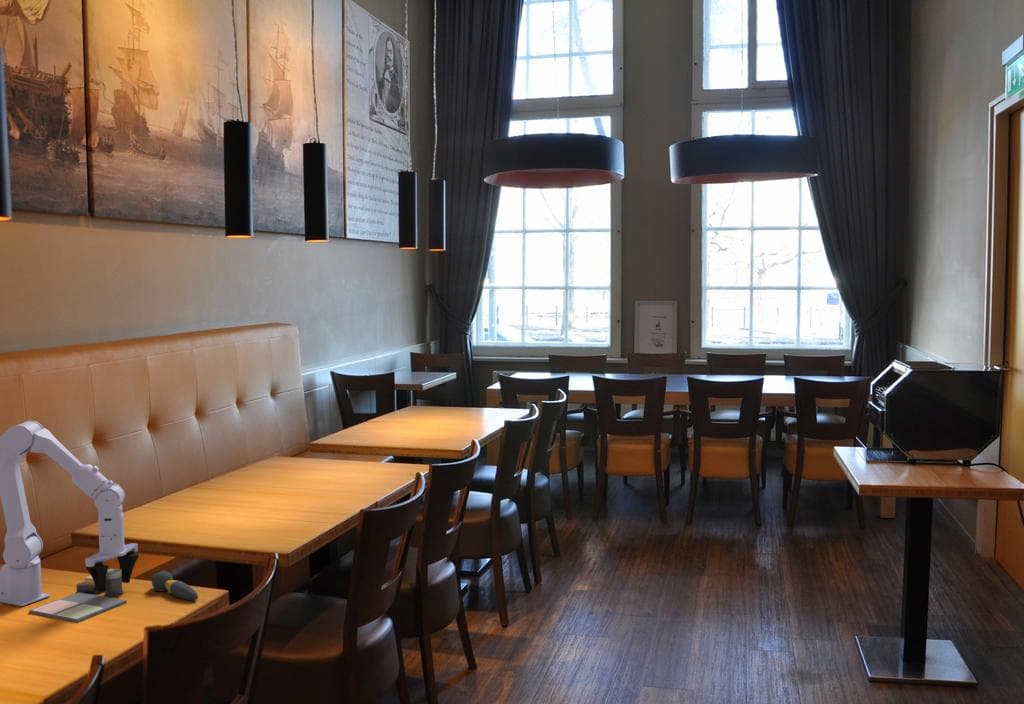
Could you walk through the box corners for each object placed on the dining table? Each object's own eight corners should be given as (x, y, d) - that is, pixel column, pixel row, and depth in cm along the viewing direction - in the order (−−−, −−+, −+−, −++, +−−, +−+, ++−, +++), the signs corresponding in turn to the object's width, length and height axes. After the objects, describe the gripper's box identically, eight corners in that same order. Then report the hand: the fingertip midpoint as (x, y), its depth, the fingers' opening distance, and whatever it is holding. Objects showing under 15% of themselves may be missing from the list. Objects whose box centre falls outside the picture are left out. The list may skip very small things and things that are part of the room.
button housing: (76, 592, 226) (76, 584, 226) (96, 585, 232) (95, 577, 232) (93, 595, 224) (93, 587, 224) (113, 587, 230) (112, 580, 229)
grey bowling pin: (209, 598, 222) (209, 578, 221) (193, 604, 218) (192, 584, 217) (159, 585, 232) (159, 566, 232) (142, 590, 228) (142, 571, 228)
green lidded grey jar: (101, 595, 224) (100, 572, 223) (114, 590, 227) (113, 567, 227) (113, 597, 222) (112, 574, 222) (126, 592, 226) (125, 569, 225)
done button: (85, 585, 227) (84, 577, 227) (95, 581, 230) (95, 573, 230) (94, 586, 226) (93, 578, 226) (104, 582, 229) (104, 575, 229)
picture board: (29, 612, 212) (29, 609, 212) (79, 594, 225) (78, 591, 225) (77, 622, 206) (77, 619, 205) (126, 602, 218) (126, 599, 218)
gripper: (99, 542, 215) (101, 598, 216) (145, 528, 229) (147, 580, 230) (78, 539, 218) (80, 594, 219) (125, 525, 232) (127, 576, 232)
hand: (113, 586), depth 225 cm, fingers open, 7 cm apart
